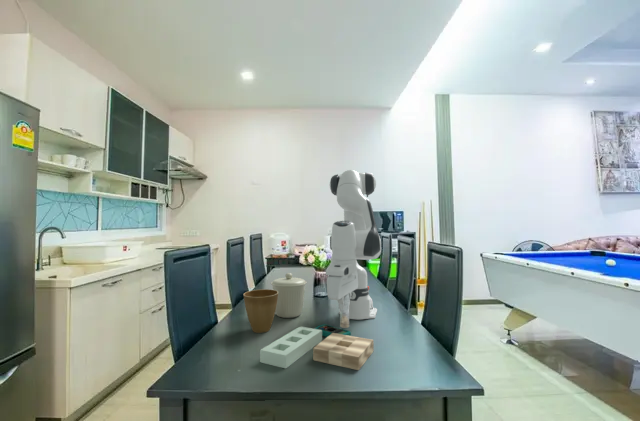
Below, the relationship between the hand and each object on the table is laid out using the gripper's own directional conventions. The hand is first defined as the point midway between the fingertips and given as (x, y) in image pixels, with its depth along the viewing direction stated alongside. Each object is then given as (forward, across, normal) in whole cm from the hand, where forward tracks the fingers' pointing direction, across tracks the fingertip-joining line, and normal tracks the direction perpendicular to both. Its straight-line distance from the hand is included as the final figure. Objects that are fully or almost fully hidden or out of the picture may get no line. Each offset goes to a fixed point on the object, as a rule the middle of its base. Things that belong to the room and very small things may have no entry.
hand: (344, 306), depth 106 cm
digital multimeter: (+17, -16, -12) cm, 26 cm away
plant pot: (+17, -8, -42) cm, 46 cm away
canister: (+17, -32, -43) cm, 56 cm away
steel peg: (+7, 0, 0) cm, 7 cm away
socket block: (+16, 0, 0) cm, 17 cm away
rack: (+16, +4, -18) cm, 25 cm away
